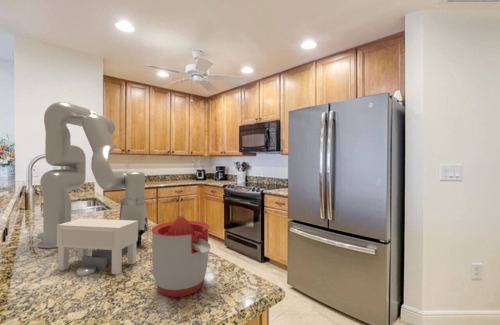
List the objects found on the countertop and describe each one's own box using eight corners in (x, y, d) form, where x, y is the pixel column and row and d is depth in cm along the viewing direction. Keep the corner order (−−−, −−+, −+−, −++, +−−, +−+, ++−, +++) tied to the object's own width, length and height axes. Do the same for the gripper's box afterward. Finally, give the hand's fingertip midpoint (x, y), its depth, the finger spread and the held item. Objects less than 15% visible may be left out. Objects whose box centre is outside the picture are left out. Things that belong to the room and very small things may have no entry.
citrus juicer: (183, 311, 59) (184, 226, 59) (138, 291, 68) (138, 217, 68) (224, 284, 72) (225, 215, 72) (182, 270, 82) (182, 208, 82)
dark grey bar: (81, 268, 83) (82, 251, 83) (129, 243, 108) (130, 230, 108) (104, 270, 82) (104, 253, 82) (147, 244, 107) (147, 231, 107)
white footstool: (55, 270, 81) (55, 225, 81) (81, 258, 92) (81, 218, 92) (118, 275, 78) (118, 228, 78) (137, 262, 88) (137, 220, 88)
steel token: (72, 275, 78) (72, 271, 78) (86, 269, 83) (86, 264, 83) (86, 277, 77) (86, 272, 77) (99, 270, 82) (99, 266, 82)
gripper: (111, 202, 102) (110, 247, 102) (148, 203, 100) (147, 249, 100) (122, 199, 110) (122, 242, 110) (157, 200, 108) (157, 243, 108)
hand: (134, 245), depth 105 cm, fingers closed on dark grey bar, 2 cm apart
